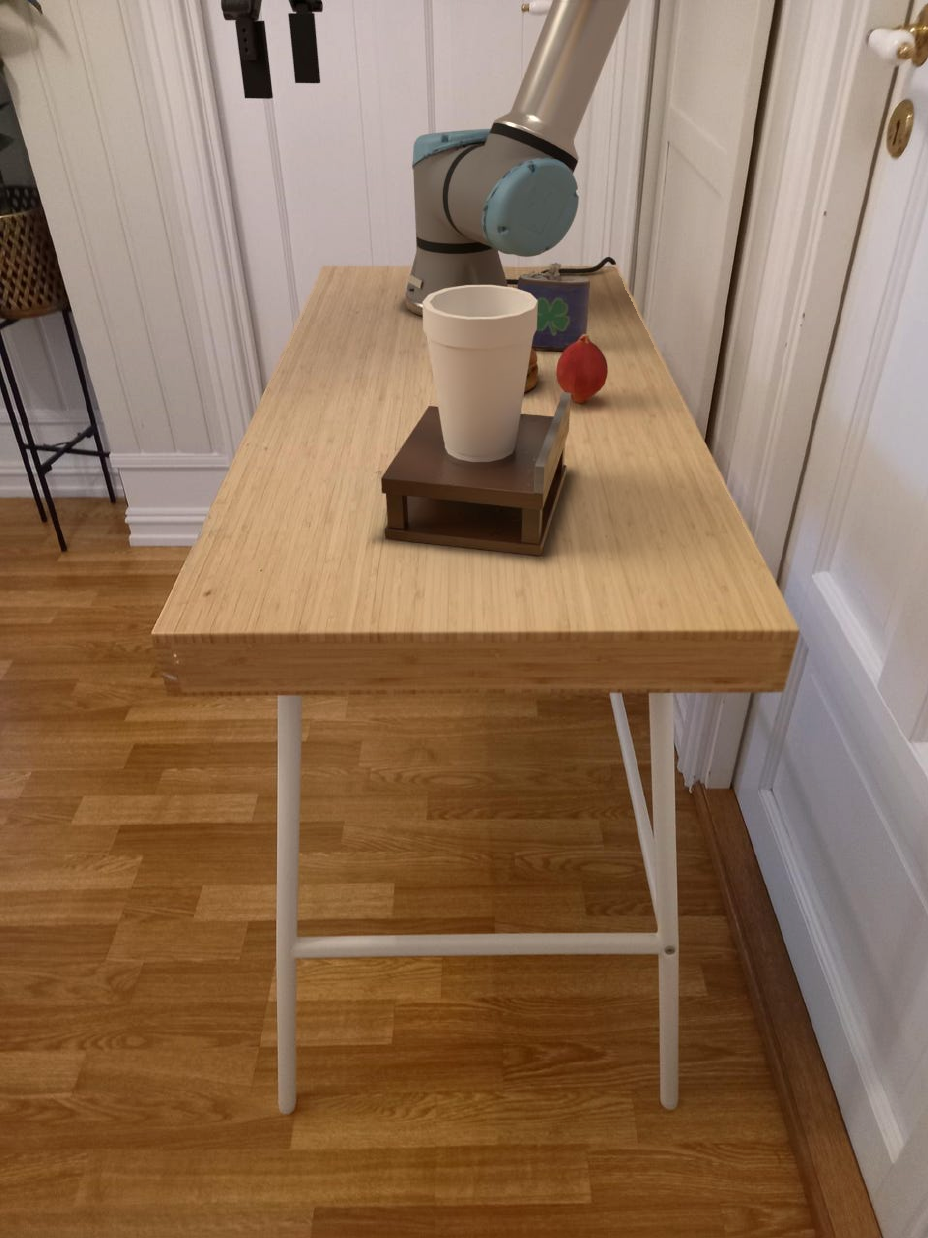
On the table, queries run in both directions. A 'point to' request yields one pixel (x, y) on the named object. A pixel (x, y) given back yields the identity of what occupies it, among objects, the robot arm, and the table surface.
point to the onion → (582, 369)
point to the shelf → (478, 487)
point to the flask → (557, 307)
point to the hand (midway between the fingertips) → (284, 90)
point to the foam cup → (480, 365)
